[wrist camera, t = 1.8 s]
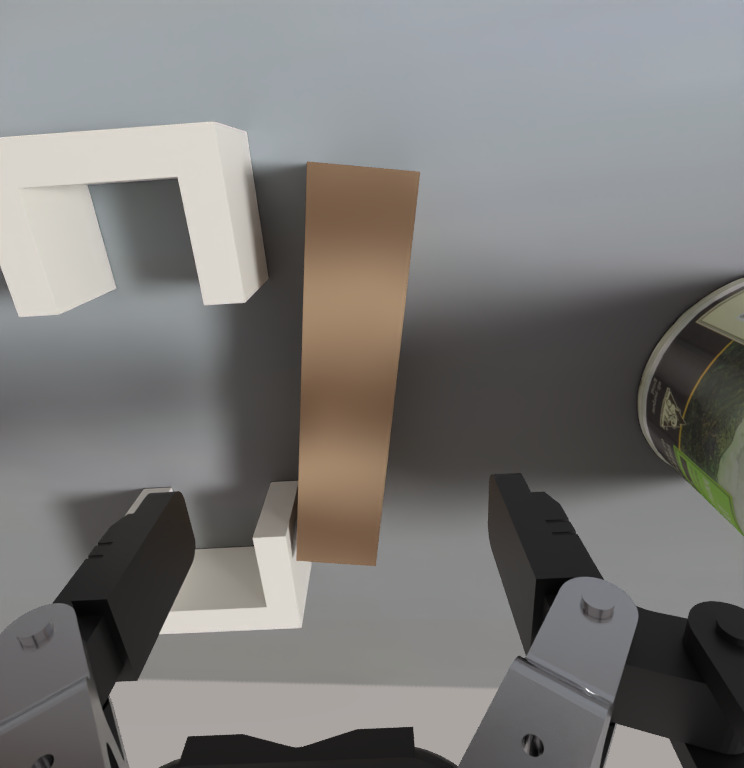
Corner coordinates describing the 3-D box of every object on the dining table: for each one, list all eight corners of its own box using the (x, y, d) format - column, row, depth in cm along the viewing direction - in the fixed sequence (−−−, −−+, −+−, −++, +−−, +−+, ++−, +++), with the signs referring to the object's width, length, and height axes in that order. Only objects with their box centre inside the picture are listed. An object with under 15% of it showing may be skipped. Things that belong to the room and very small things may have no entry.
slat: (320, 163, 19) (306, 161, 15) (410, 171, 19) (420, 171, 15) (307, 503, 25) (296, 560, 21) (375, 508, 25) (375, 565, 21)
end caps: (39, 147, 18) (-46, 140, 14) (246, 131, 18) (213, 121, 14) (168, 570, 26) (136, 634, 23) (311, 563, 26) (301, 628, 22)
